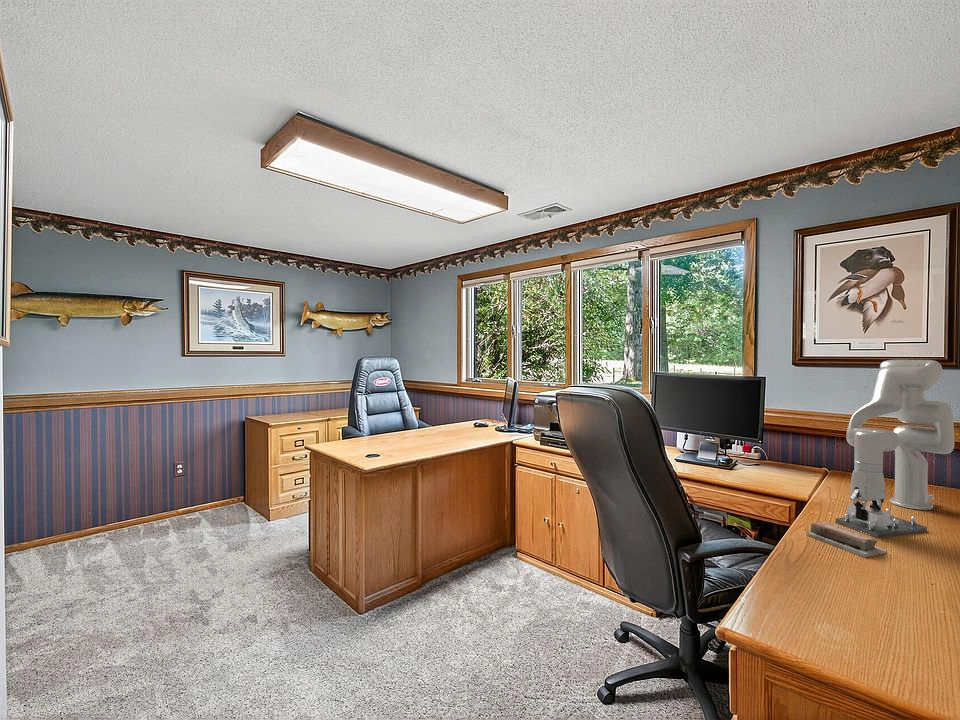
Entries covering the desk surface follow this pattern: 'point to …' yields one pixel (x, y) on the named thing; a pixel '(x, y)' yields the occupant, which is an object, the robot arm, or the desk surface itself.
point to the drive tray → (894, 528)
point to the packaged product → (845, 539)
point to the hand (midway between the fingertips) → (868, 518)
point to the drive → (871, 516)
